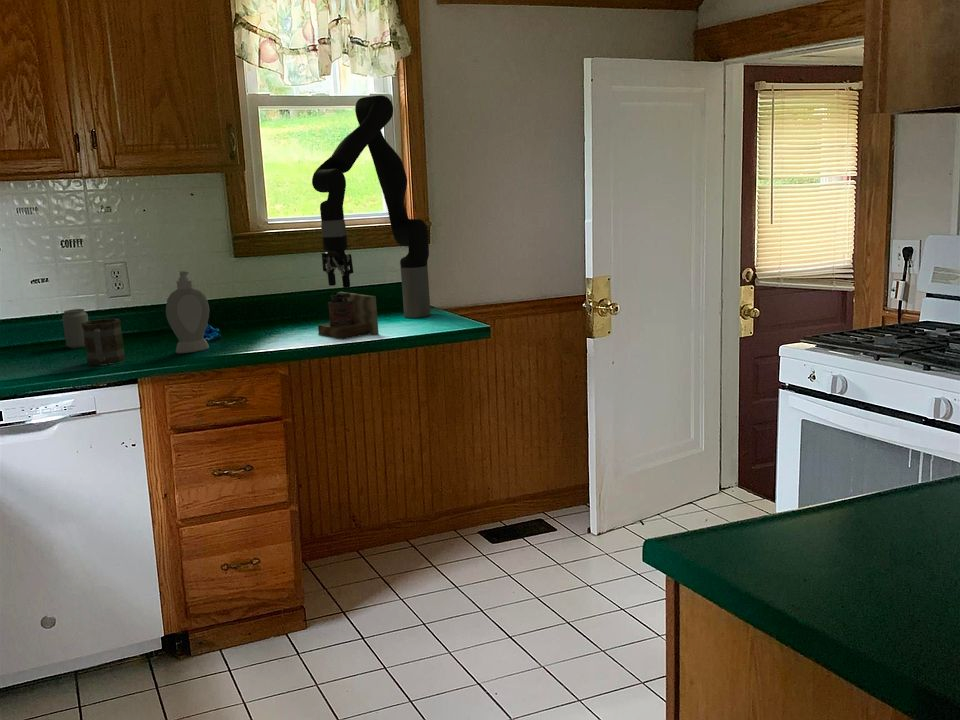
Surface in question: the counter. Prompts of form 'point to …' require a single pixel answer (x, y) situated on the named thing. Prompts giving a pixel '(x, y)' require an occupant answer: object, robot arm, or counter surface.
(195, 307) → the soap bottle
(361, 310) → the wooden bookend
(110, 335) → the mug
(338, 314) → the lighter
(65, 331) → the can
